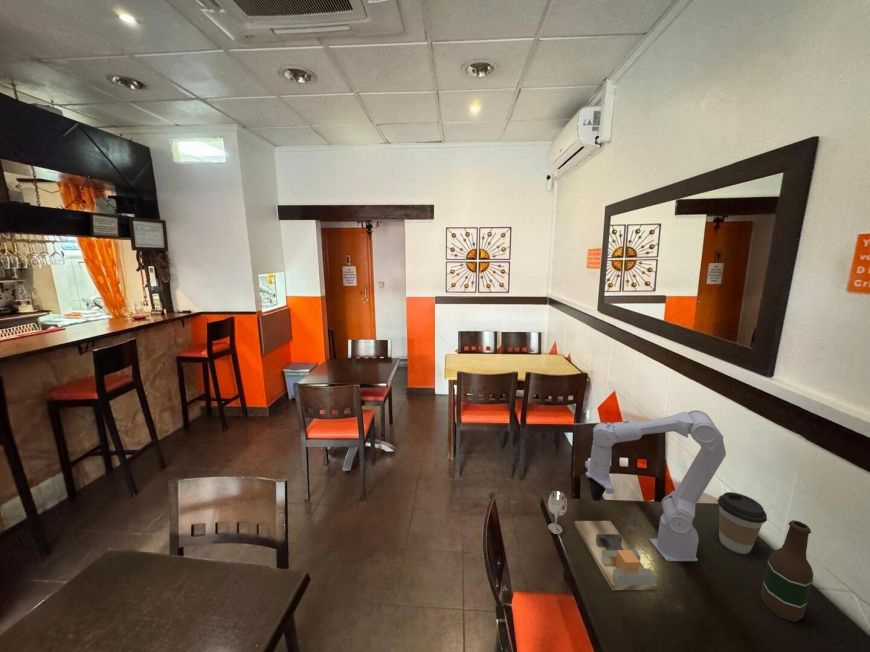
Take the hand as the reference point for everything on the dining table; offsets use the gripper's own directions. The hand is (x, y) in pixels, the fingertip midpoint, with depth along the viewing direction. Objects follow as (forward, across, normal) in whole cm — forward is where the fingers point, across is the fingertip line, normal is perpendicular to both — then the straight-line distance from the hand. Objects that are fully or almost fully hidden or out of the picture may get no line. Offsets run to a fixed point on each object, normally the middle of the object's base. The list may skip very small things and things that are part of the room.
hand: (595, 499), depth 111 cm
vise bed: (+10, +12, 0) cm, 16 cm away
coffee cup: (+10, +8, +41) cm, 43 cm away
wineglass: (+10, +1, -13) cm, 16 cm away
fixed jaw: (+8, +22, 0) cm, 23 cm away
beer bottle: (+10, +28, +35) cm, 46 cm away
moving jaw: (+8, +12, 0) cm, 15 cm away
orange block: (+8, +18, 0) cm, 20 cm away
